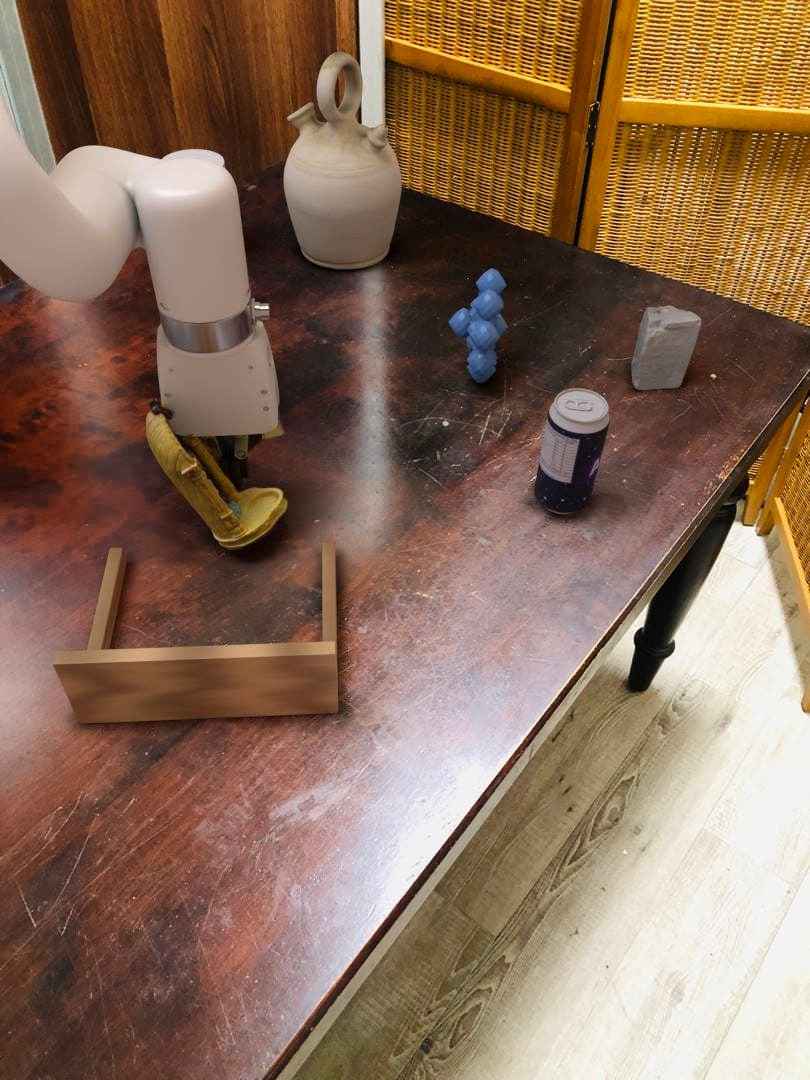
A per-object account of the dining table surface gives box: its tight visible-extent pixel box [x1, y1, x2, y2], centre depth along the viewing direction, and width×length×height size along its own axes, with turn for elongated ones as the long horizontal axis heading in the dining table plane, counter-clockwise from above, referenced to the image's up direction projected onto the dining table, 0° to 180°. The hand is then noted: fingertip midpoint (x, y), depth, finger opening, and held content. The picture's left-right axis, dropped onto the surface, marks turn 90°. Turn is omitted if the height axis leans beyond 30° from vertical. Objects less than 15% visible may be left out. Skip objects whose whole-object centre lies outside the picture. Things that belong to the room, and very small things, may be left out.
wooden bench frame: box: [52, 541, 339, 725], centre depth 73 cm, size 20×17×8 cm
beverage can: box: [533, 387, 611, 515], centre depth 84 cm, size 6×6×12 cm
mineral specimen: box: [630, 304, 703, 391], centre depth 101 cm, size 7×9×8 cm
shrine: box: [145, 397, 289, 551], centre depth 79 cm, size 12×8×15 cm
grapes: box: [448, 267, 509, 384], centre depth 99 cm, size 12×7×12 cm, turn 172°
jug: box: [283, 51, 403, 271], centre depth 113 cm, size 15×16×25 cm
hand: (234, 481), depth 86 cm, fingers closed
